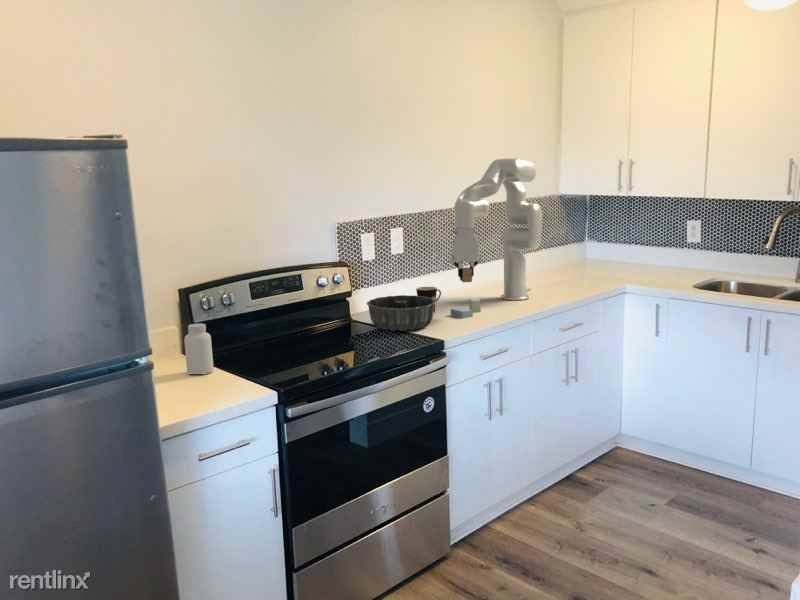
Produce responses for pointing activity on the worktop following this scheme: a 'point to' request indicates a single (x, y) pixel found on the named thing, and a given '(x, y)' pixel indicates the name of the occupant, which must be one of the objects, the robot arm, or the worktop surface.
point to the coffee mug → (428, 293)
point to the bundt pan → (401, 312)
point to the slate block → (462, 312)
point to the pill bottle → (198, 350)
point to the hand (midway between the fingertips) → (465, 277)
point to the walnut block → (466, 275)
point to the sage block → (475, 304)
